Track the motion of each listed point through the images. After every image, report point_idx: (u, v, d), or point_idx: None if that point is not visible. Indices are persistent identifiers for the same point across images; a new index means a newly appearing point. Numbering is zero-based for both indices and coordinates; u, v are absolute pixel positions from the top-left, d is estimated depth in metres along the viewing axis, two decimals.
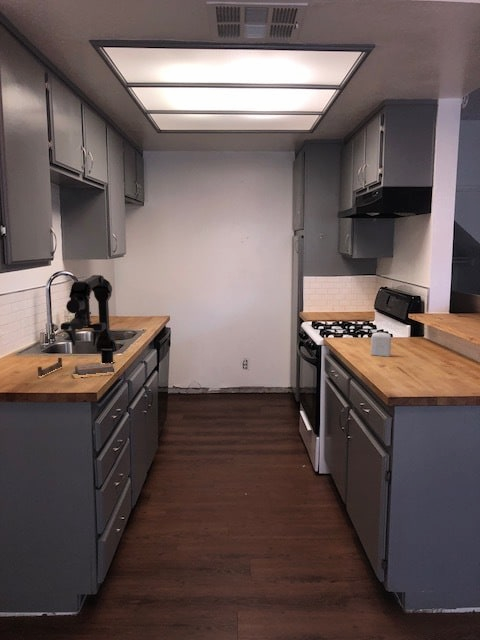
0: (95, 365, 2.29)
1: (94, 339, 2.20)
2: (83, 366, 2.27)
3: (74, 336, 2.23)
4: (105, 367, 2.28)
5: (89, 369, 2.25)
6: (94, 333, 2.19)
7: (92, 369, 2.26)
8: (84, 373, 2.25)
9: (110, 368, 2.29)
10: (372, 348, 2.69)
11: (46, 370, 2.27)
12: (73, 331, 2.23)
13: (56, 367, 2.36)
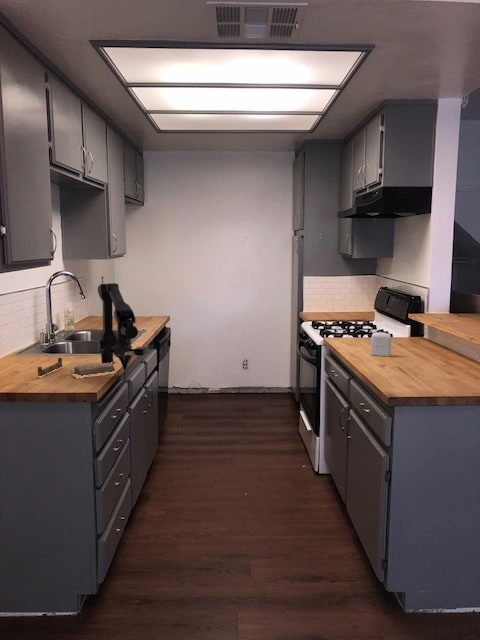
0: (95, 365, 2.29)
1: (126, 363, 2.26)
2: (83, 366, 2.26)
3: None
4: (106, 367, 2.29)
5: (91, 369, 2.25)
6: (125, 357, 2.25)
7: (93, 369, 2.26)
8: (86, 373, 2.24)
9: (111, 367, 2.30)
10: (372, 348, 2.69)
11: (46, 370, 2.27)
12: (124, 356, 2.28)
13: (56, 367, 2.36)
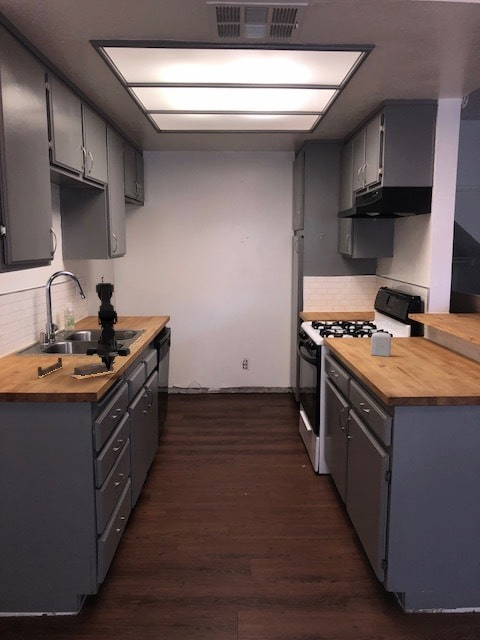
0: (95, 365, 2.29)
1: (109, 364, 2.27)
2: (84, 367, 2.26)
3: (108, 361, 2.29)
4: None
5: (92, 369, 2.25)
6: (109, 358, 2.26)
7: (95, 369, 2.26)
8: (87, 373, 2.24)
9: None
10: (372, 348, 2.69)
11: (46, 370, 2.27)
12: (107, 356, 2.29)
13: (56, 367, 2.36)
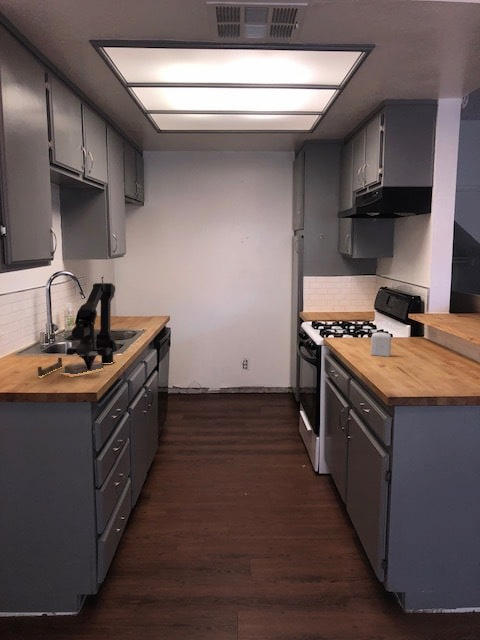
0: None
1: (89, 363, 2.28)
2: (74, 365, 2.29)
3: None
4: (96, 364, 2.34)
5: (83, 367, 2.29)
6: (89, 358, 2.27)
7: (85, 367, 2.30)
8: (79, 372, 2.28)
9: (100, 365, 2.36)
10: (372, 348, 2.69)
11: (46, 370, 2.27)
12: (88, 356, 2.30)
13: (56, 367, 2.36)
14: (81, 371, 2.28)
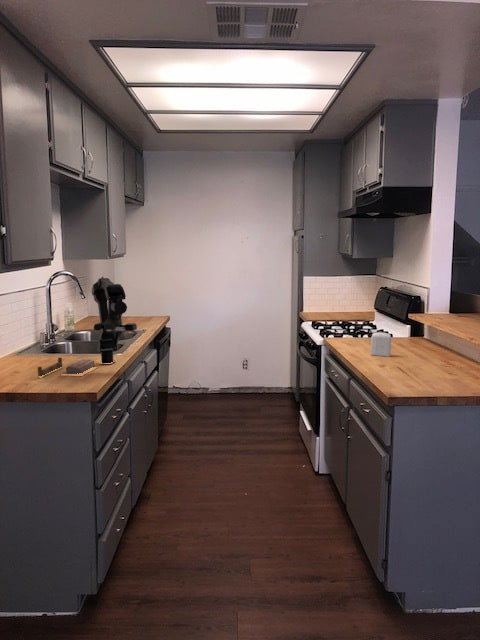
0: (81, 362, 2.35)
1: (116, 339, 2.33)
2: (76, 365, 2.30)
3: (115, 336, 2.35)
4: (91, 362, 2.38)
5: (85, 366, 2.32)
6: (116, 333, 2.32)
7: (86, 365, 2.33)
8: (83, 370, 2.30)
9: (93, 362, 2.41)
10: (372, 348, 2.69)
11: (46, 370, 2.27)
12: (114, 332, 2.35)
13: (56, 367, 2.36)
14: (84, 370, 2.31)
